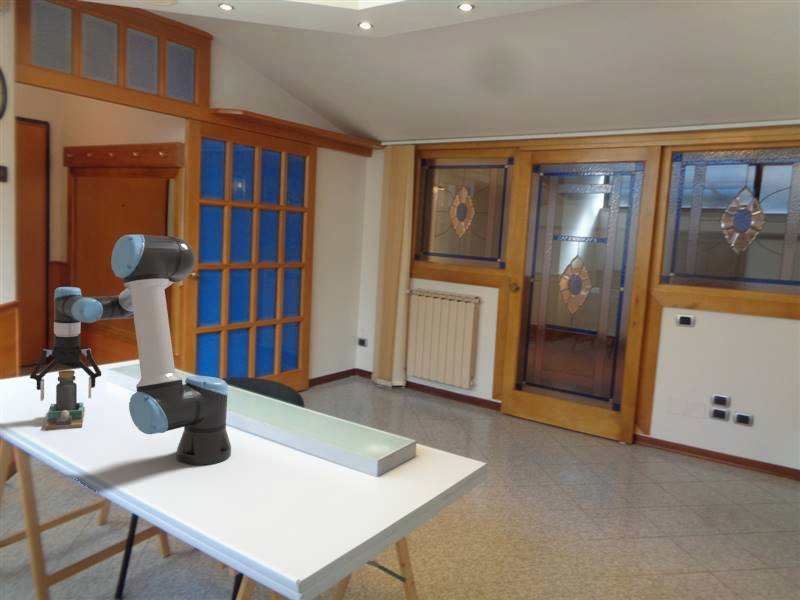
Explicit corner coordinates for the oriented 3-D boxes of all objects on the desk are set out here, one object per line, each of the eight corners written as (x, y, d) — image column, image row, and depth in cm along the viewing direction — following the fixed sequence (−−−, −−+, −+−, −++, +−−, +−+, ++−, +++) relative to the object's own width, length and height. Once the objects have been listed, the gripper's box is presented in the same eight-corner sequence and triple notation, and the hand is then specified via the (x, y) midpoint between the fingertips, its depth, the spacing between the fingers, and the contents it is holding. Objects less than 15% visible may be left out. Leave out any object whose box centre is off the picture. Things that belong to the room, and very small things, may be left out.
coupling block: (81, 427, 186) (82, 413, 186) (45, 430, 182) (45, 415, 181) (84, 410, 203) (84, 396, 203) (51, 412, 199) (51, 398, 198)
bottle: (80, 414, 195) (80, 370, 194) (68, 419, 189) (69, 374, 188) (64, 412, 196) (64, 368, 194) (51, 417, 190) (52, 372, 188)
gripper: (110, 332, 199) (108, 393, 201) (23, 332, 188) (23, 397, 190) (110, 336, 192) (108, 399, 194) (20, 337, 181) (19, 403, 183)
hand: (66, 398), depth 192 cm, fingers open, 13 cm apart
